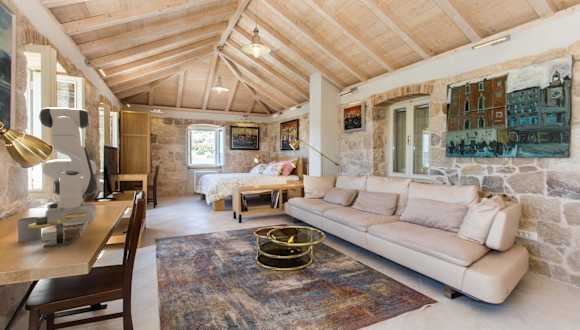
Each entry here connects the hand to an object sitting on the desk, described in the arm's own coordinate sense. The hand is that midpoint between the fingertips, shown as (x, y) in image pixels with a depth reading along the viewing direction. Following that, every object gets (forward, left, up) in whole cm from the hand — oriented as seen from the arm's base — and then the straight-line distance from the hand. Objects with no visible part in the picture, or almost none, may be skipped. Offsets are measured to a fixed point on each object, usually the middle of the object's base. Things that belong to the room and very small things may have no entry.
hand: (71, 231), depth 139 cm
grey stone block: (-3, -10, -4) cm, 11 cm away
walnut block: (-1, 0, -4) cm, 4 cm away
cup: (-6, -19, -4) cm, 20 cm away
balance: (+8, -2, -4) cm, 9 cm away
